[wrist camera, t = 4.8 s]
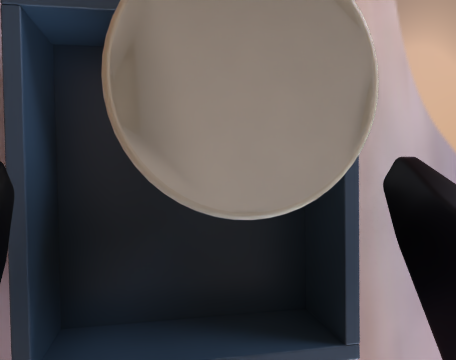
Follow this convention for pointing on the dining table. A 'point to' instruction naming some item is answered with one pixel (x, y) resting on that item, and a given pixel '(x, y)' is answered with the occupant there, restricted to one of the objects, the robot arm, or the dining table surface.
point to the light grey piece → (240, 98)
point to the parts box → (149, 229)
